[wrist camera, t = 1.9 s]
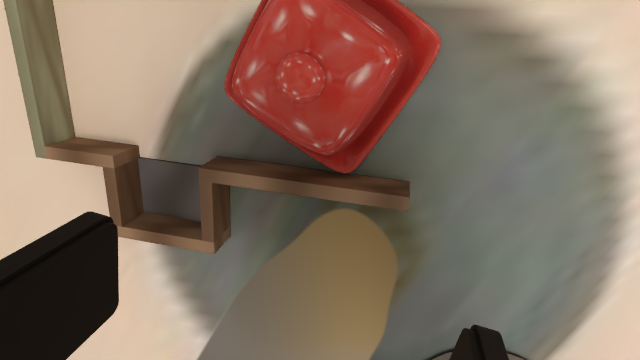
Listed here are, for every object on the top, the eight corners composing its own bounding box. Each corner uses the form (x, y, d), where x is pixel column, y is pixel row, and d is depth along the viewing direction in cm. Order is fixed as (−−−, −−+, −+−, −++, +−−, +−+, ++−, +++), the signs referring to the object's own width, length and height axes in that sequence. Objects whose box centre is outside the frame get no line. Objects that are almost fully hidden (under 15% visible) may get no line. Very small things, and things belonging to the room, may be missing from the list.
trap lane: (472, -211, 20) (483, -251, 17) (396, 263, 30) (395, 286, 28) (6, -194, 25) (-44, -223, 22) (78, 209, 35) (50, 224, 32)
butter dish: (451, 40, 24) (472, 40, 17) (349, 176, 29) (329, 227, 21) (303, -66, 24) (253, -116, 16) (224, 89, 29) (156, 107, 21)
